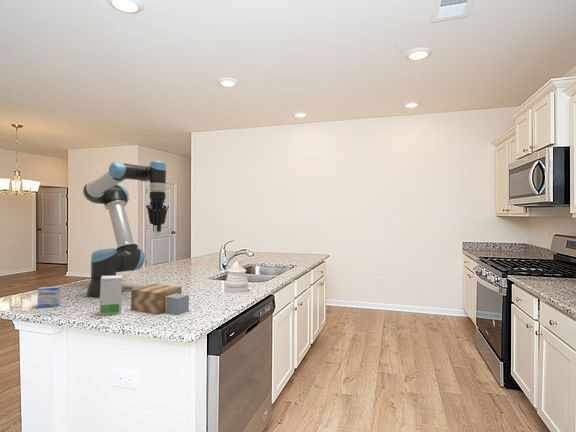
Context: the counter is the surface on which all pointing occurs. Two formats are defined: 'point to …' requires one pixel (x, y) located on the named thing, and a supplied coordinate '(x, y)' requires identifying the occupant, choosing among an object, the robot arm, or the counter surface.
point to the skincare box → (110, 295)
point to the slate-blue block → (176, 303)
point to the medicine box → (48, 296)
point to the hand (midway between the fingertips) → (156, 238)
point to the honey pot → (236, 279)
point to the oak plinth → (152, 297)
